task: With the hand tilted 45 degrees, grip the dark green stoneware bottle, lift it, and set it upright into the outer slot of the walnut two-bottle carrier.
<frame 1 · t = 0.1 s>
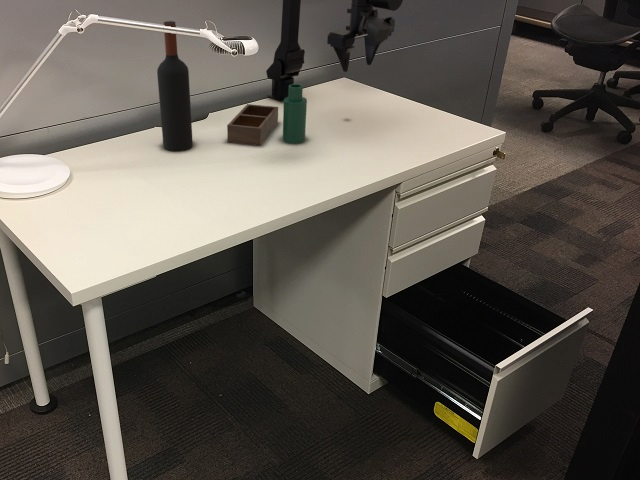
hand: (357, 68, 176), 15 cm above the table, tool pointing down, fingers open, 9 cm apart
wine bottle: (178, 146, 172), on the table
carrier: (253, 132, 179), on the table
bottle: (293, 139, 174), on the table
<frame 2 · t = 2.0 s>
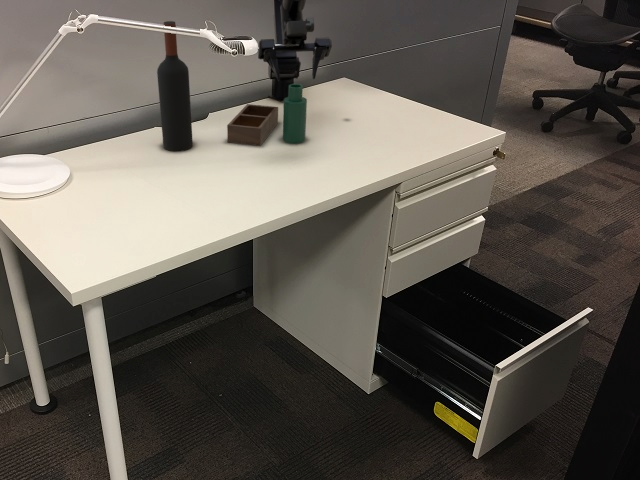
hand: (296, 79, 173), 13 cm above the table, tool tilted 40°, fingers open, 9 cm apart
nothing on the table moved.
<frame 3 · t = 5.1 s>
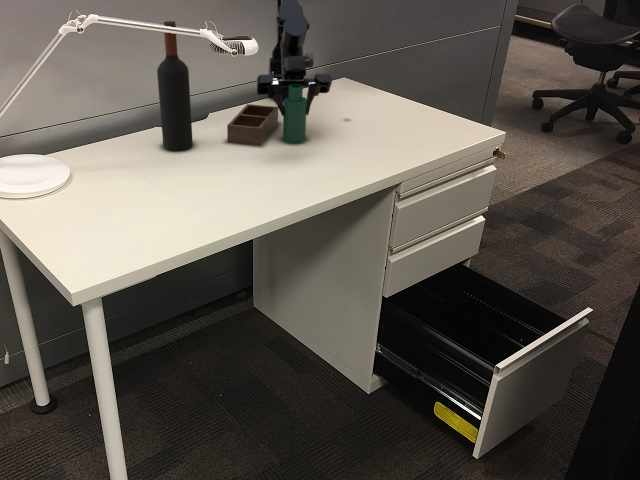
hand: (295, 114, 169), 7 cm above the table, tool tilted 45°, fingers closed on bottle, 6 cm apart
bottle: (293, 139, 174), on the table, touching gripper
everything else where it was.
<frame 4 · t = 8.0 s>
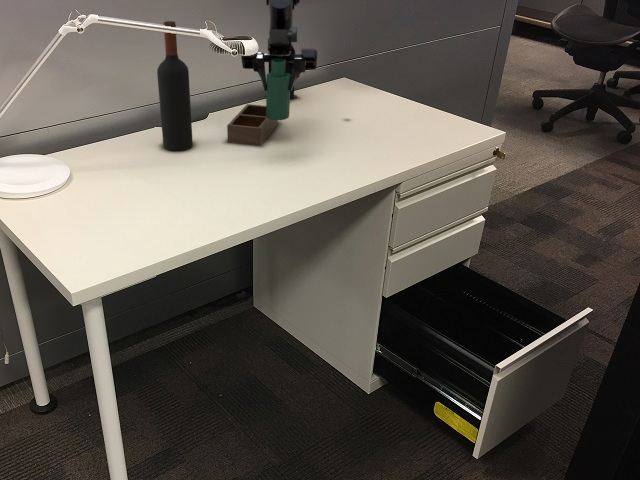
hand: (277, 90, 166), 13 cm above the table, tool tilted 45°, fingers closed on bottle, 6 cm apart
bottle: (277, 116, 171), point 6 cm above the table, touching gripper
everything else where it was.
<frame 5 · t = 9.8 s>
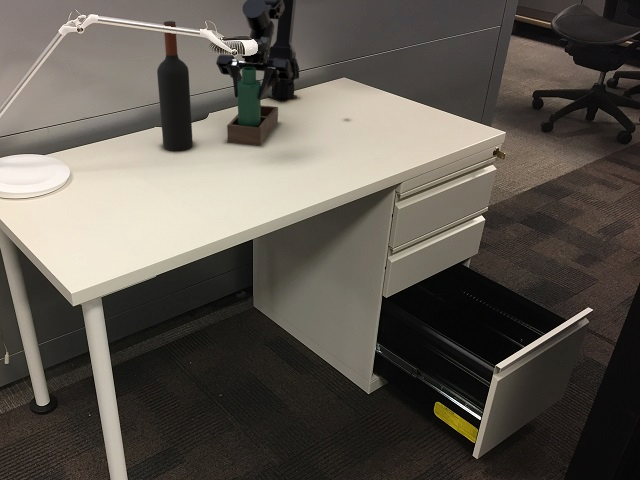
hand: (247, 97, 168), 11 cm above the table, tool tilted 45°, fingers closed on bottle, 6 cm apart
bottle: (249, 123, 174), point 4 cm above the table, touching gripper
everything else where it was.
when the fingers open (8 cm above the table, at t = 11.2 s): bottle stays where it is, resting on carrier.
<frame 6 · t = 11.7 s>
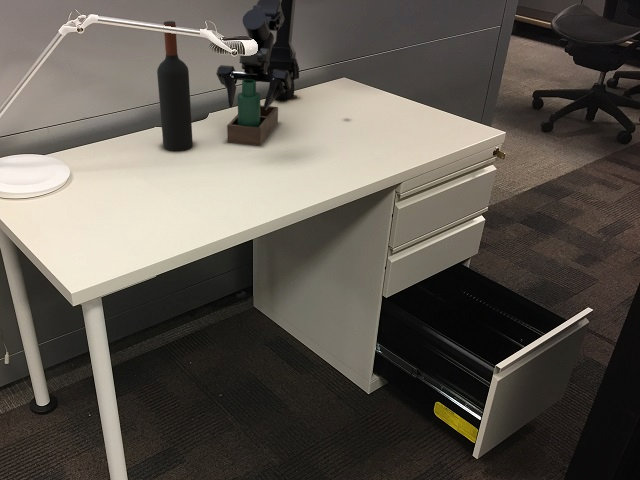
hand: (247, 108, 170), 8 cm above the table, tool tilted 45°, fingers open, 9 cm apart
bottle: (249, 134, 175), point 1 cm above the table, touching carrier
everything else where it was.
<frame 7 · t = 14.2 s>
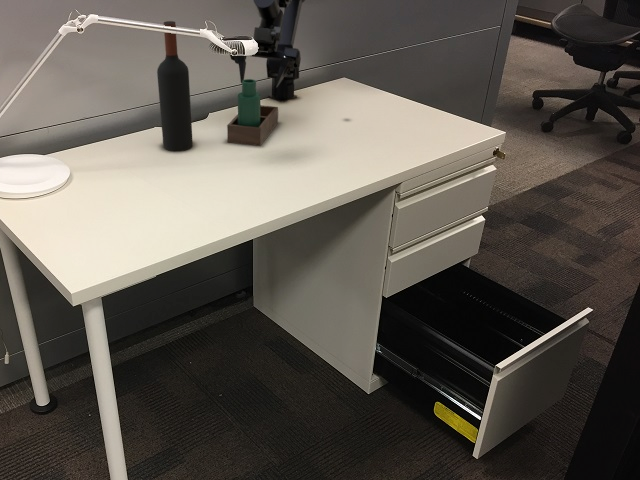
hand: (258, 85, 175), 12 cm above the table, tool tilted 40°, fingers open, 9 cm apart
nothing on the table moved.
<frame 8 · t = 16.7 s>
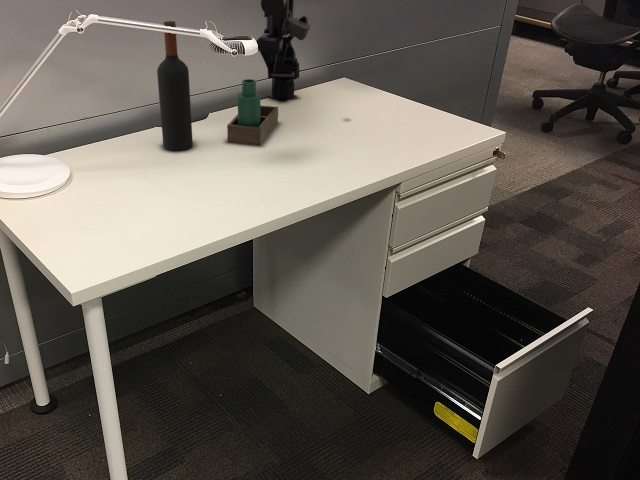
hand: (276, 68, 182), 13 cm above the table, tool pointing down, fingers open, 9 cm apart
nothing on the table moved.
at the end: bottle 0.1 cm from the target spot in the carrier, point 0.8 cm above the carrier's base; bottle tilted 0°; the gripper is holding nothing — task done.
